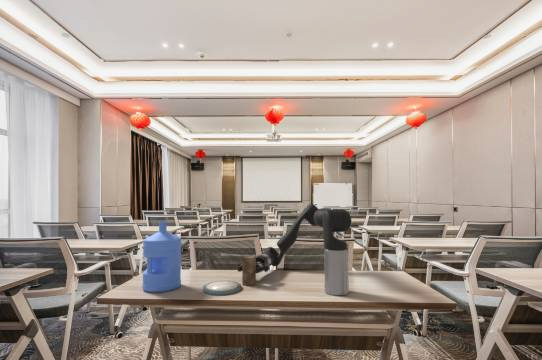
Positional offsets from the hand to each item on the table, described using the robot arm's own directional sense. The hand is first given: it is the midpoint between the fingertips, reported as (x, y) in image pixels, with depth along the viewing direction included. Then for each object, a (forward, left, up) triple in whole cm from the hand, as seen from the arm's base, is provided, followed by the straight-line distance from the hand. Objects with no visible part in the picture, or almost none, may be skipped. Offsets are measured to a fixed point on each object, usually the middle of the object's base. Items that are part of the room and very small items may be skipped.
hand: (247, 270), depth 131 cm
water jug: (+34, +14, -7) cm, 38 cm away
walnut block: (0, -2, -7) cm, 7 cm away
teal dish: (+8, +8, -7) cm, 13 cm away
